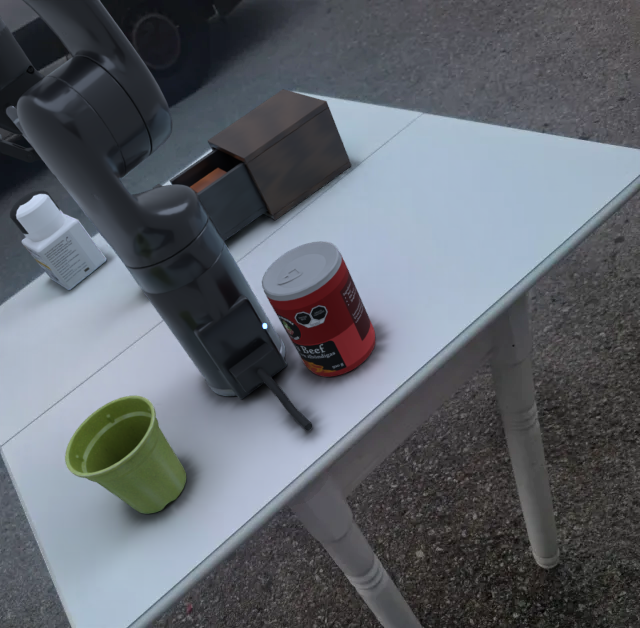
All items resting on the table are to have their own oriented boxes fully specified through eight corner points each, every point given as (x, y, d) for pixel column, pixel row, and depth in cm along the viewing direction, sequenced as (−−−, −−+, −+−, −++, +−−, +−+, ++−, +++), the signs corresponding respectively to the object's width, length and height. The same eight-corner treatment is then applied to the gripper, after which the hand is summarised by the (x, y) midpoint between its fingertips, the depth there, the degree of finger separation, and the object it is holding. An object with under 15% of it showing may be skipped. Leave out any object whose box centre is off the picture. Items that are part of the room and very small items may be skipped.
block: (232, 175, 95) (202, 195, 95) (248, 206, 99) (220, 226, 98) (217, 167, 99) (188, 187, 98) (234, 198, 102) (206, 217, 102)
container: (51, 280, 113) (-5, 211, 105) (88, 250, 115) (37, 181, 107) (69, 291, 108) (12, 220, 99) (108, 260, 110) (55, 187, 101)
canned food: (292, 364, 75) (246, 283, 67) (345, 316, 77) (305, 233, 69) (337, 389, 69) (292, 305, 62) (393, 337, 71) (355, 249, 64)
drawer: (184, 274, 95) (153, 226, 90) (157, 250, 104) (127, 204, 98) (282, 205, 97) (258, 154, 92) (248, 186, 106) (223, 138, 101)
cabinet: (275, 220, 97) (243, 158, 91) (237, 198, 107) (206, 140, 100) (352, 165, 99) (326, 100, 93) (308, 148, 108) (283, 88, 102)
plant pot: (105, 533, 69) (48, 480, 63) (136, 457, 75) (87, 402, 69) (186, 526, 65) (133, 469, 59) (212, 446, 71) (167, 388, 65)
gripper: (-77, 76, 73) (33, 218, 84) (32, 9, 74) (124, 156, 86) (-83, 68, 78) (21, 202, 90) (19, 5, 80) (107, 145, 92)
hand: (71, 179), depth 88 cm, fingers closed
